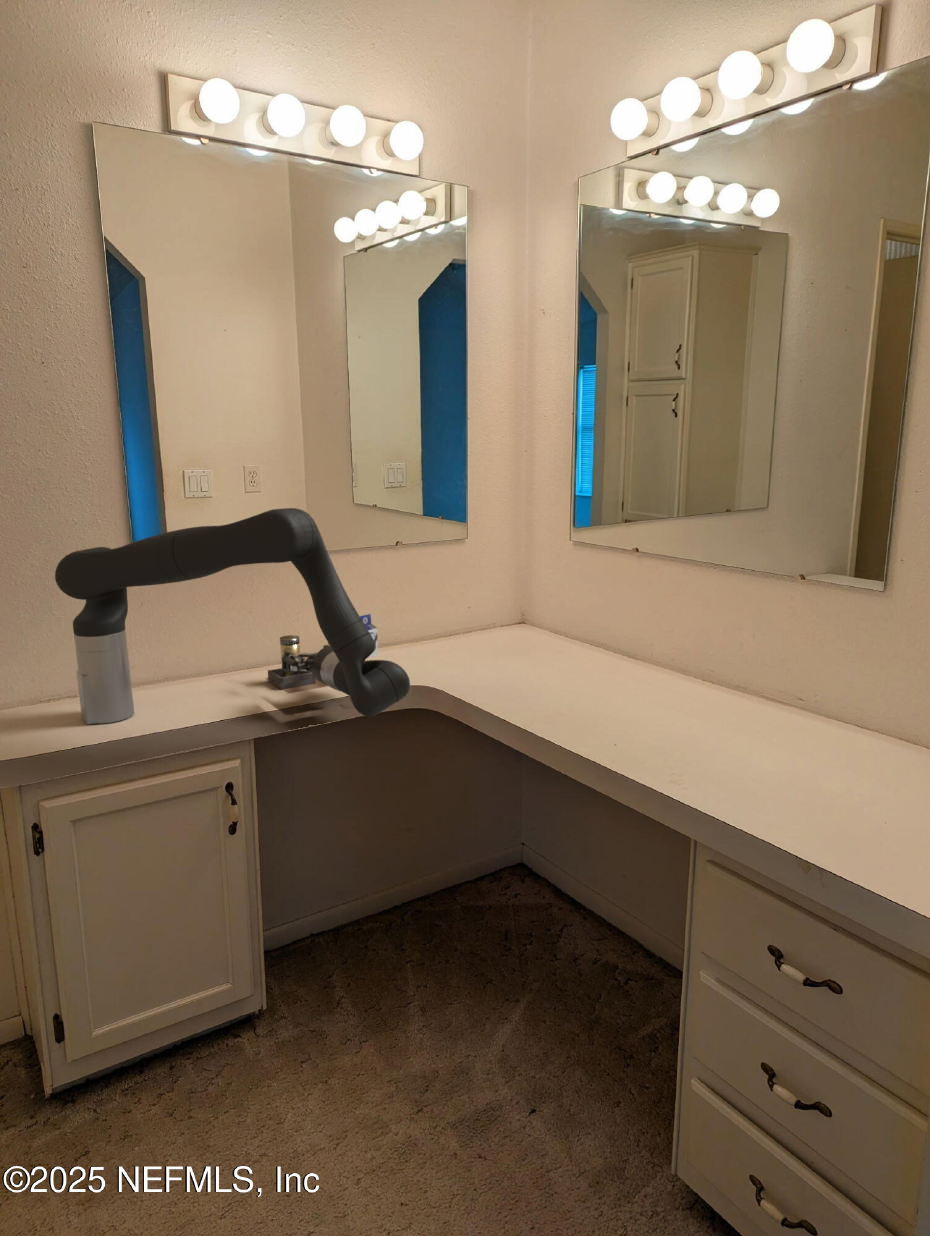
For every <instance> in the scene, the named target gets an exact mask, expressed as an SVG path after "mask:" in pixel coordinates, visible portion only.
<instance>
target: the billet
mask: <svg viewBox="0 0 930 1236" xmlns="http://www.w3.org/2000/svg"><path fill="white" fill-rule="evenodd" d="M279 644H280V659H281V658H282V657H283V654H284V653H285V652H288V651H289V652H291V653H293V654H294V655H299V654H301V650H300V648H301V647H300V644H301V641H300V636H299V635H296V634H295V635H293V634H291V635H283V636H281V637H279ZM295 660H298V659H295ZM280 661H281V663H282V659H281V660H280ZM298 663H299V660H298ZM299 674H301V671H300V670H299ZM299 674H298V675H299ZM287 676H293V674H291V673H289V672H286V671H284V670H282V677H287Z"/></svg>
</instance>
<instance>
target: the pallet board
mask: <svg viewBox="0 0 930 1236" xmlns="http://www.w3.org/2000/svg"><path fill="white" fill-rule="evenodd" d="M265 679H266V680H267V681H268V682H269V683H270V684H272V685H273V686H275V687H276V688H278V689H279V690H280V691H284V692H285V693H287V694H293V693H298V692H305V691H309V690H314V689H315V690H316V689H319V688H320V689H321V688H326V687H328V686H327V685H325V684H323V683H322V682H320V681H318V680H317V679H316V677H315V676H314V674H313V673H312V672H308V671H301V674H299V675H293V676H287V677H282V667H279V668H274V669H269V670H267V677H265Z"/></svg>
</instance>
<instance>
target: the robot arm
mask: <svg viewBox="0 0 930 1236" xmlns="http://www.w3.org/2000/svg"><path fill="white" fill-rule="evenodd" d="M327 549H328V548H327V546H326V544H325V542H324V539H323V537H322V535H321V532H320V530H319V528H318V525H317V523H316V522H315V520H314V518H313V517H312V516H311V514H309V513H308V512H307V511H305V510H303V509H300V508H295V507H294V508H293V507H289V508H287V507H286V508H275V509H274V508H273V509H270V510H267V511H264V512H261V513H259V514H255V515H253V516H250V517H247V518H245V519H241V520H237V521H234V522H232V523H228V524H227V523H226V524H223V525H222V524H221V525H201V526H194V527H188V528H187V527H186V528H182V529H176V530H172V531H167V532H162V533H160V534H159V533H158V534H156V535H153V536H149V537H146V538H142V539H140V540H137V541H133V542H131V543H127V544H125V545H122V546H119V547H115V548H109V547H107V546H97V547H90V548H85V549H81V550H76V551H72V552H70V553H68V554H67V555H65V556H64V557H63V558H61V560H60V561H59V562H58V563H57V566H56V567H55V572H54V579H55V582H56V585H57V587H58V588H59V590H60V591H61V592H63V594H65V595H66V596H69V597H70V598H73V599H74V600H75V599H76V600H85V604H84V606H83V609H82V610H81V611H80V612H79V613H78V614H77V615H76V616H75V617H74V619H73V621H72V629H73V638H74V640H73V641H74V646H75V647H74V648H75V655H76V665H77V670H76V678H77V687H78V697H79V704H80V713H81V718H82V719H83V721H84V723H86V725H92V724H108V723H109V724H111V723H114V722H119V721H123V720H127V719H128V718H130V717H133V716H134V715H135V706H134V698H133V687H132V679H131V669H130V660H129V650H128V641H127V640H128V639H127V632H126V618H127V616H128V611H129V607H128V606H129V603H128V588H131V587H146V586H158V585H166V584H173V583H180V582H185V581H191V580H196V579H197V580H198V579H201V578H206V577H208V576H211V575H214V574H217V573H220V572H222V571H224V570H227V569H228V568H231V567H237V566H244V565H245V566H246V565H254V564H273V563H274V564H280V563H289V562H291V564H292V565H293V566H294V567H295V568H296V570H297V571H298V573H299V574H300V575H301V578H303V580H304V582H305V584H306V586H307V589H308V590H309V591H308V592H309V594H310V596H311V600H312V605H313V609H314V613H315V617H316V619H317V623H318V626H319V629H320V630H321V632H322V634H323V636H324V638H325V640H326V641H327V644H326V645H325V644H324V645H323V646H322V647H323V648H321V649H320V650H319V651H318V652H317V651H316V652H312V653H310V652H300V654H299V655H294V654H293V653H291V652H289V651H288V652H285V653H284V654H283V657H282V658H281V657H280V659H282V662H281V668H282V670H284V671H286V672H289V673H291V674H293V675H298V674H299V670H300V671H308V672H312V673H313V674H314V676H315V677H316V679H317V680H318V681H320V682H322V683H323V684H325V685H327V686H326V687H329V688H331V689H333V690H335V691H338V692H341V693H344V694H345V695H347V696H349V698H350V700H351V704H352V705H353V707H354V709H355V710H356V711H357V712H358V713H360V714H361V715H362V716H365V717H368V718H372V717H375V716H376V715H378V714H380V713H382V712H383V711H385V710H387V709H388V708H390V707H391V706H393V705H395V704H396V703H398V702H400V701H401V700H402V699H404V698H406V696H407V695H408V694H409V691H410V689H411V688H410V687H411V681H410V677H409V675H408V673H407V671H405V669H404V668H403V667H402V666H400V665H399V664H398V663H396V662H393V661H390V660H384V659H369V660H366V659H368V657H369V656H370V655H371V654H372V653H373V652H374V651H375V649H376V644H375V642H374V640H373V638H372V636H371V634H369V631H368V630H367V628H366V626H365V625H364V623H363V621H362V619H361V618H360V616H361V615H360V614H359V613H358V611H357V610H356V608H355V606H354V605H353V602H352V601H351V599H350V597H349V594H347V592H346V590H345V588H344V586H343V584H342V581H341V580H340V577H339V576H338V573H337V571H336V568H335V566H334V563H333V561H332V559H331V557H330V554H329V551H328V550H327ZM328 643H329V645H330V646H328ZM369 658H370V657H369ZM295 659H298V660H299V663H298V660H295Z"/></svg>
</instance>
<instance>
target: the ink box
mask: <svg viewBox="0 0 930 1236" xmlns="http://www.w3.org/2000/svg"><path fill="white" fill-rule="evenodd" d="M359 616H360V618H361V619H362V621H363V623H364V625H365V626H366V628H367V630H368V631H369V634H371V636H372V638H373V640H374V642H375V644H376V649H375V651H374V652H373V653H372V654H371V655H370V656H369V657H368V658H373V657H374V656H377V655H378V627H377V626H375V625H374V624H372V616H371V613H368V614H363V615H359ZM368 658H367V659H368Z"/></svg>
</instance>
